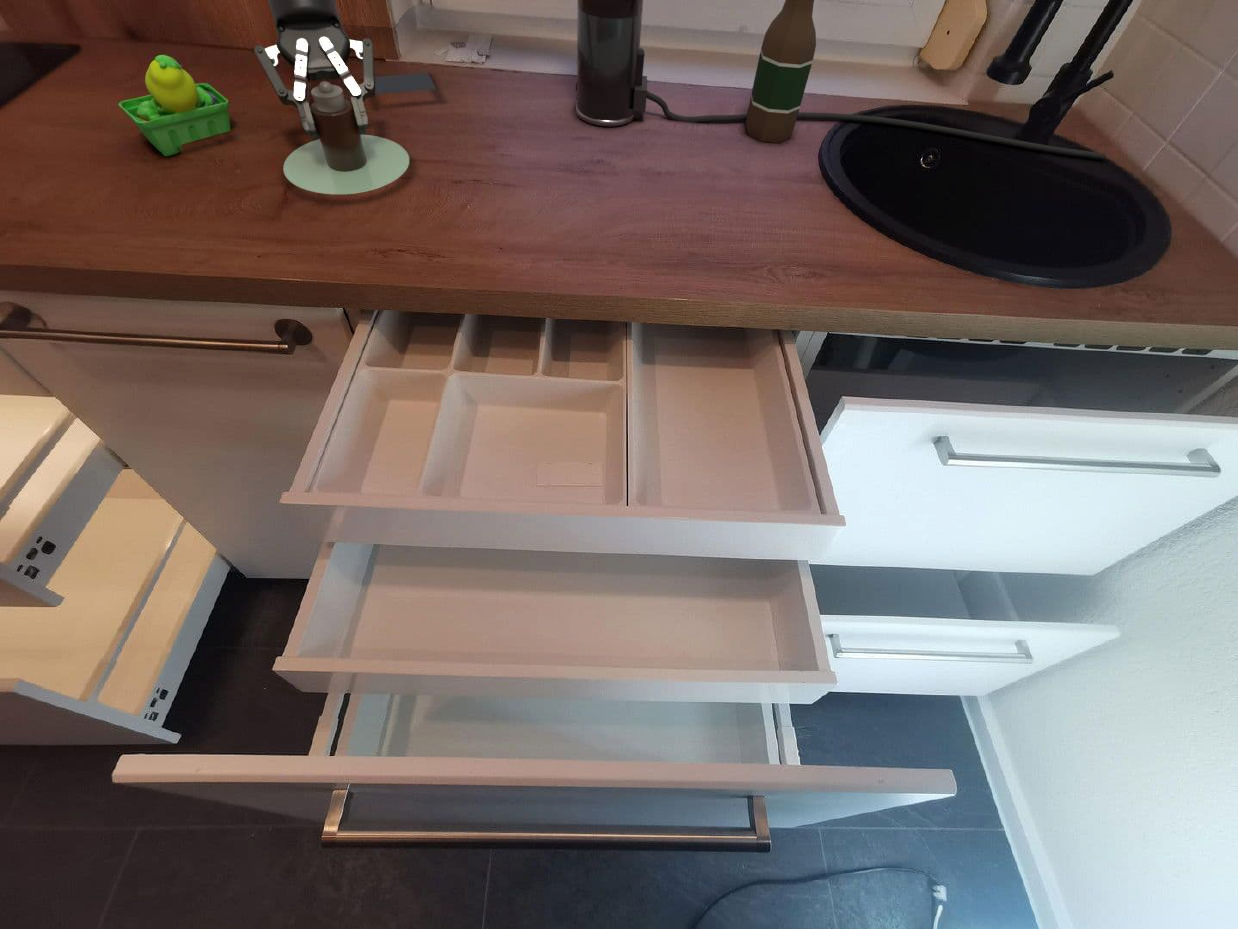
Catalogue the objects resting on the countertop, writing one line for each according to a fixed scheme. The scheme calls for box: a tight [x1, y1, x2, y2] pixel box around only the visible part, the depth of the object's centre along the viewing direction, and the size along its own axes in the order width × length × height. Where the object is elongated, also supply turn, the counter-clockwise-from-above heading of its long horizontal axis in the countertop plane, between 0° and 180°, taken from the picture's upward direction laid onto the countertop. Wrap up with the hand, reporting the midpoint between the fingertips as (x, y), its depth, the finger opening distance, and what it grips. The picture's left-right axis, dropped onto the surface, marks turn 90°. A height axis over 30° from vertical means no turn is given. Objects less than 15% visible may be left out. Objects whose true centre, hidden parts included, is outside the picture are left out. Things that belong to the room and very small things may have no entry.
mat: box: [375, 72, 437, 96], centre depth 98 cm, size 10×10×1 cm
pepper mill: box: [309, 80, 367, 172], centre depth 78 cm, size 5×5×10 cm
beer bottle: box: [745, 0, 817, 144], centre depth 88 cm, size 8×8×24 cm
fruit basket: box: [118, 54, 232, 157], centre depth 81 cm, size 11×9×11 cm
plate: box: [282, 134, 410, 195], centre depth 83 cm, size 16×16×1 cm
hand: (339, 133), depth 78 cm, fingers closed on pepper mill, 5 cm apart
